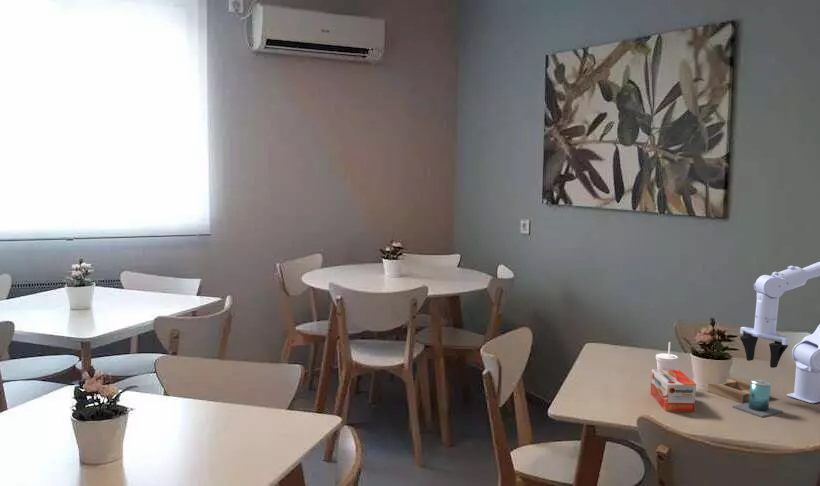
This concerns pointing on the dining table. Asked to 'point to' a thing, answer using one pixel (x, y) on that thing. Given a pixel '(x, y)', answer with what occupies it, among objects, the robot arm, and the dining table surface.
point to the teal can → (759, 395)
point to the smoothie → (666, 360)
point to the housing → (732, 390)
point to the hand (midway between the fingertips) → (761, 363)
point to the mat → (758, 413)
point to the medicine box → (673, 390)
